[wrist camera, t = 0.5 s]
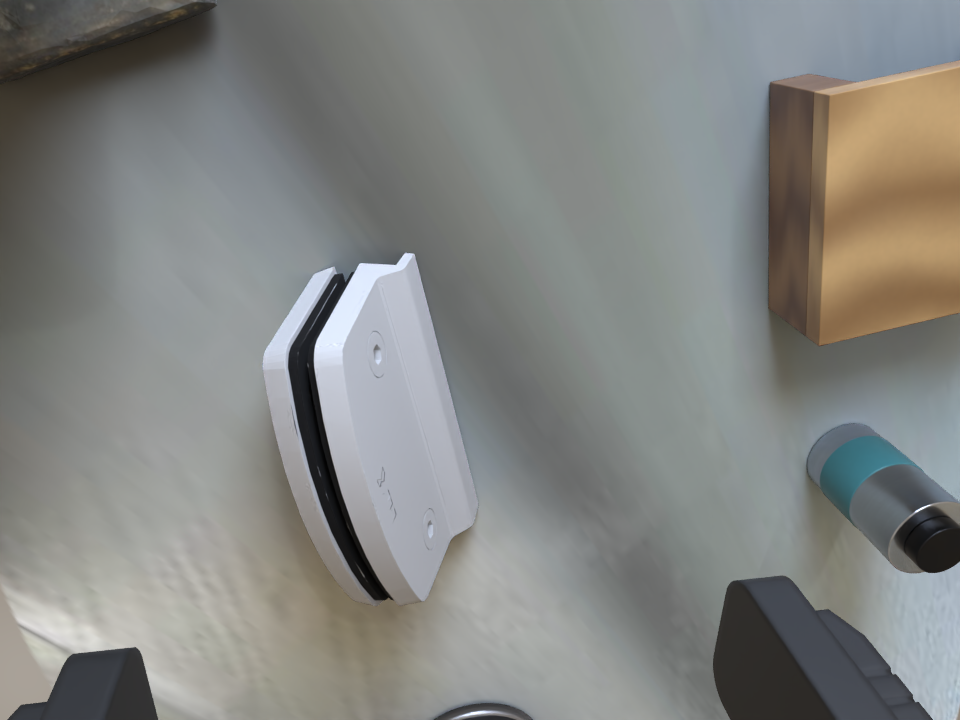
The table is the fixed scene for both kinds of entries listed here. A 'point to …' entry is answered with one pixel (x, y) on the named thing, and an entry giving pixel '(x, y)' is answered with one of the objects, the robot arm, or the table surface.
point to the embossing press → (78, 28)
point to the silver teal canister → (888, 499)
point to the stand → (864, 201)
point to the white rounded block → (370, 431)
